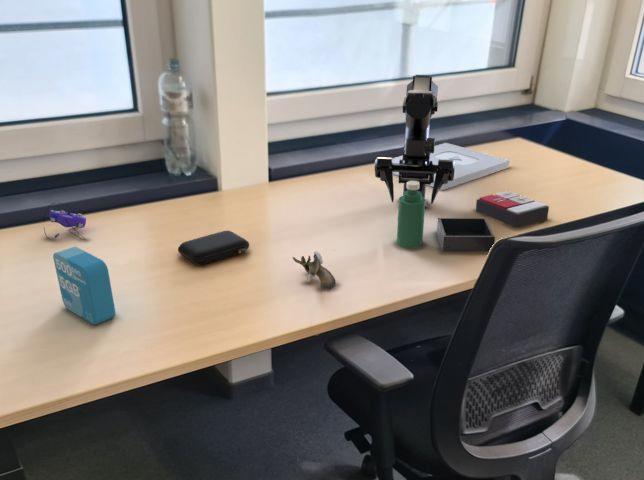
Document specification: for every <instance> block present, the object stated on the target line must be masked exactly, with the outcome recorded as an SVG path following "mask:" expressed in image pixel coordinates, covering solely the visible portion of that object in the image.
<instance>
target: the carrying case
mask: <svg viewBox="0 0 644 480" xmlns="http://www.w3.org/2000/svg"><path fill="white" fill-rule="evenodd" d="M248 249H250V242H249V241H248V240H247V239H246V238H244V237H242V236H240V235H239V234H237V233H235V232H233V231H232V230H222V231H219V232H215V233H212V234H208V235H204V236H200V237H197V238H193V239H190V240H186V241H183V242H182V243H180V244H179V246H178V248H177V251H178V253H179V254H180V255H181V256H183V257H184V258H185V259H188V260H189V261H191V262H192V263H193V264H195V265H198V266H199V265H200V266H201V265H205V264H209V263H212V262H216V261H219V260H222V259H225V258H229V257H232V256H236V255H240V254H242V253H245V252H246V251H247V250H248Z"/></svg>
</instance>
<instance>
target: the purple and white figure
mask: <svg viewBox="0 0 644 480" xmlns="http://www.w3.org/2000/svg"><path fill="white" fill-rule="evenodd" d="M59 204H61V205H64V206H65V207H67V208H69V209H70V210H71V211H72V212H73V213H72V212H71V213H68V212H67V211H65V210H53V209H50V210H49V214H48V215H49V221H50V222H51V223H57V224H59V225H61V226H62V227H64V228H69V229H68V232H69V233H71V234H73V235H74V236H75V237H76V238H79V239H81V240H83V241H86V238H85V237H84V236H83V235H82V234H80V233H79V235H80V236H81V237H82V238H81V237H79V236H78V235H76V234H75V233H73V232H72V231H71V230H75V232H77V228H79V229H83V228H85V227H86V224H87V217H85V216H83V214H82V213H78V212H77V213H76V212H74V210H73V209H72V208H71V207H69V206H68V205H66V204H65V203H61V202H59ZM52 205H55V202H53V203H50V204H49V205H48V207H47V208H46V209H45V211H44V214H46V213H47V210H48V208H49V207H51V206H52ZM45 217H46V215H44V216H43V219H45ZM43 231H44V234H45V237H46V238H47V239H49V240H50V237H48V236H47V233H46V230H45V228H43ZM58 237H60V233H56V234H55V235H54V236H53V238H52V240H54V239H57V238H58Z"/></svg>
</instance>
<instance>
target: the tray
mask: <svg viewBox="0 0 644 480" xmlns="http://www.w3.org/2000/svg"><path fill="white" fill-rule="evenodd" d="M436 223H437V224H436V235H437V238H438V242H439V244H440V247H441V251H442V252H443V253H481V252H482V253H489V250H490V248H491V247H492V245H493V244H494V245H495V239H496V235H495V234H494V232H493V230H492V227H491V225H490V223H489V221H488V219H487V217H437V221H436Z"/></svg>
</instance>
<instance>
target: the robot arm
mask: <svg viewBox="0 0 644 480" xmlns="http://www.w3.org/2000/svg"><path fill="white" fill-rule="evenodd" d="M438 91H439V86H438V85H437V84H436V82H434V81H433V76H432V75H430V74H415V75H413V76H412V80H411V81H410V82H409V83H408V84H407V85H406V91H405V93H406V94H405V96H404V97H403V102H402V114H405V133H404V145H403V149H402V155H403V158H402V159H400V161H399V163H392V158H393V157H390V156H389V157H387V156H377V157H376V158H375V160H374V177H375V178H377V179H380V181H382V182H384V183H385V185H386V188H387V191H388V194H389V197H390V202H391V203H394V199H395V192H394V176H393V175H394V174H393V173H392V172H399V176H398V184H403V191H402V193H403V192H404V191H407V188H406V185H407V182H408V181H418V182H419V183H420V186H419V189H418V191H420V192H421V193H422V197H424V198H425V199H426V186H427V185H426V184H429V185H431V183H434V186H433V187H432V192H431V198H430V205H433V204H434V202H435V200H436V197H437V195H438V193H439V192H440V191H441V190H440V188H441V187H442V185H443V184H447V183H448V181H452V180H453V178H454V172H455V162H454V161H453V160H438V165H433V164H432V161H430V153H434V146H436V145H435V144H436V138H435V137H430V131H431V130H430V128H431V118H432V116H433V115H435V113H436V112H438V108H439V107H438V106H439V103H438ZM434 174H436V176H435V182H434ZM427 208H428V204H427V201H426V200H425V209H427Z"/></svg>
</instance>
